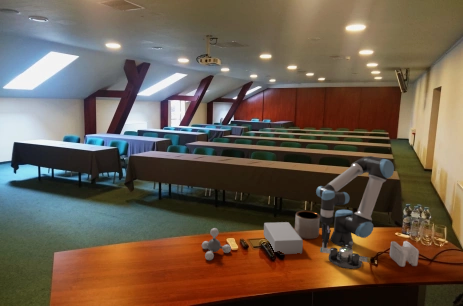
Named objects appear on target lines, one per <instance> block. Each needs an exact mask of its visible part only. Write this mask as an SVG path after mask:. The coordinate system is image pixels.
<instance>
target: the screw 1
mask: <svg viewBox="0 0 463 306" xmlns="http://www.w3.org/2000/svg"><path fill="white" fill-rule="evenodd" d="M353 246H354V241H353V242H352V241H350V242H349V244H345V246H344V247H347V248H350V249H352V250H353Z"/></svg>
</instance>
